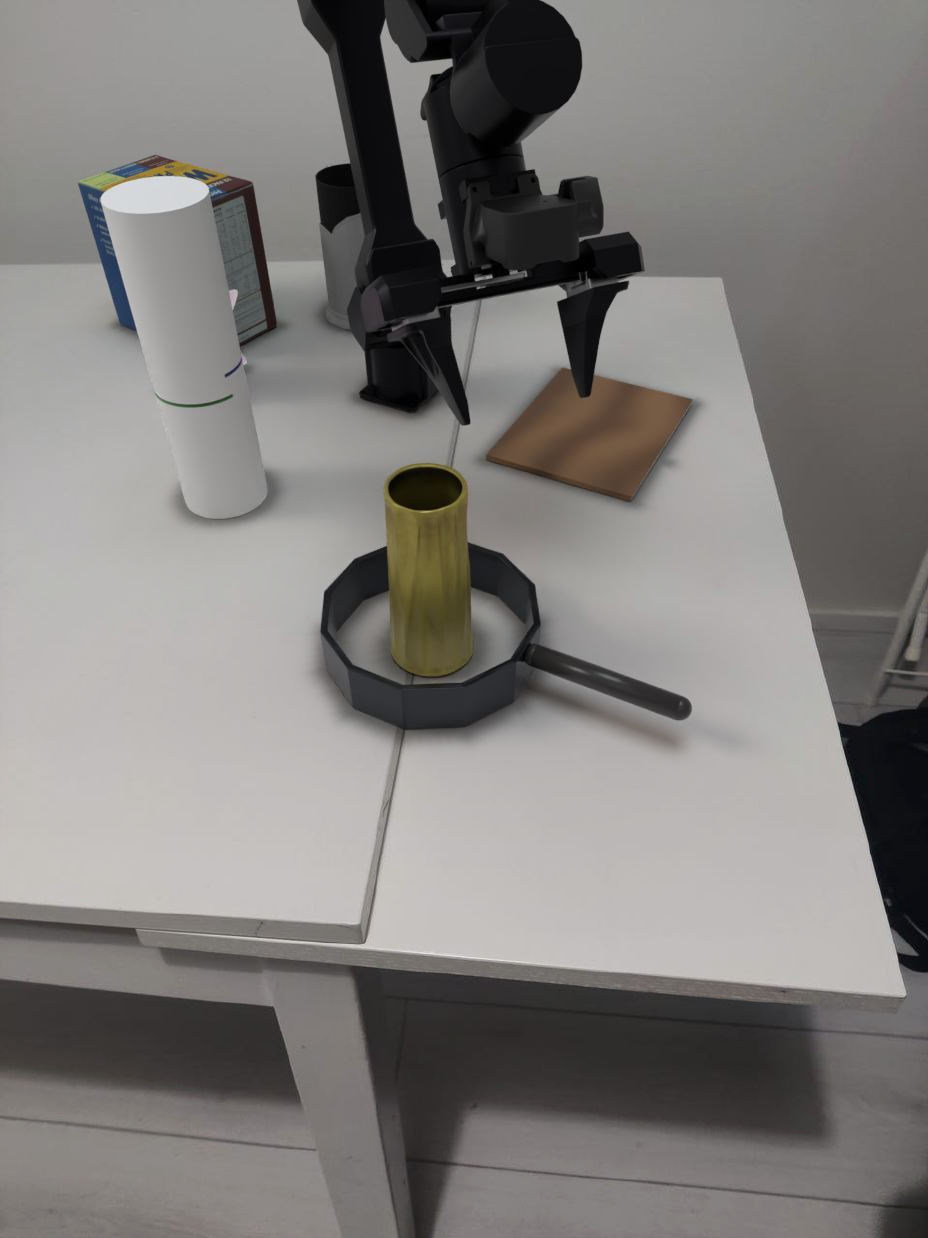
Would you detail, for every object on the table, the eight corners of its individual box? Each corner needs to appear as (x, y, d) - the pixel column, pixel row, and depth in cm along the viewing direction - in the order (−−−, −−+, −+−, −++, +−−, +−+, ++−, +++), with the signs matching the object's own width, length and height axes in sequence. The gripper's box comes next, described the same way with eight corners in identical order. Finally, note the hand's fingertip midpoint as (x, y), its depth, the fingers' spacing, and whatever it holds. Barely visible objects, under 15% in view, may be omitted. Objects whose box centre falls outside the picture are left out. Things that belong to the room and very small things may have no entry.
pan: (286, 680, 61) (278, 640, 58) (395, 556, 71) (392, 517, 68) (645, 830, 53) (655, 792, 50) (714, 666, 62) (726, 626, 59)
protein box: (187, 291, 106) (154, 152, 95) (279, 326, 99) (255, 181, 88) (117, 324, 100) (73, 180, 89) (210, 363, 93) (175, 212, 82)
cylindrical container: (283, 481, 78) (230, 184, 60) (236, 527, 73) (163, 220, 56) (217, 462, 80) (147, 170, 63) (167, 505, 76) (77, 203, 58)
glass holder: (339, 335, 97) (323, 194, 87) (303, 285, 107) (285, 152, 96) (412, 321, 100) (405, 181, 89) (371, 273, 109) (360, 142, 99)
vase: (411, 689, 61) (400, 528, 51) (376, 633, 64) (360, 473, 54) (489, 659, 63) (493, 499, 53) (450, 607, 66) (447, 448, 56)
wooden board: (485, 459, 80) (485, 454, 80) (561, 372, 92) (562, 366, 91) (630, 502, 76) (631, 496, 75) (691, 404, 87) (692, 398, 87)
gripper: (373, 148, 47) (436, 438, 51) (671, 108, 52) (707, 374, 56) (335, 204, 57) (389, 441, 61) (586, 165, 62) (622, 386, 66)
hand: (526, 410), depth 61 cm, fingers open, 9 cm apart
